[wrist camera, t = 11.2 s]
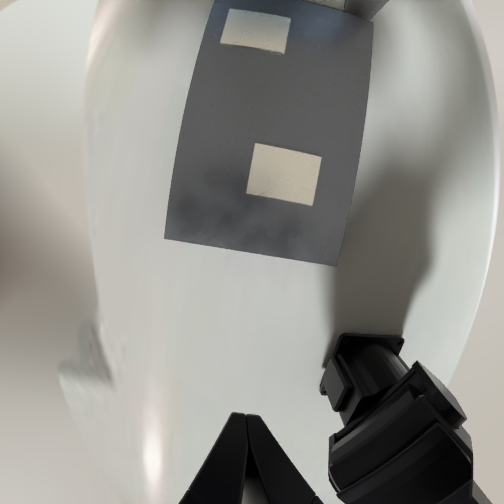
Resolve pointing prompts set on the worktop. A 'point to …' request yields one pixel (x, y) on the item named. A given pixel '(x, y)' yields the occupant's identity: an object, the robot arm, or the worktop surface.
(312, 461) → the worktop surface
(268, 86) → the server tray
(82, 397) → the worktop surface
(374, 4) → the light blue flat slab
